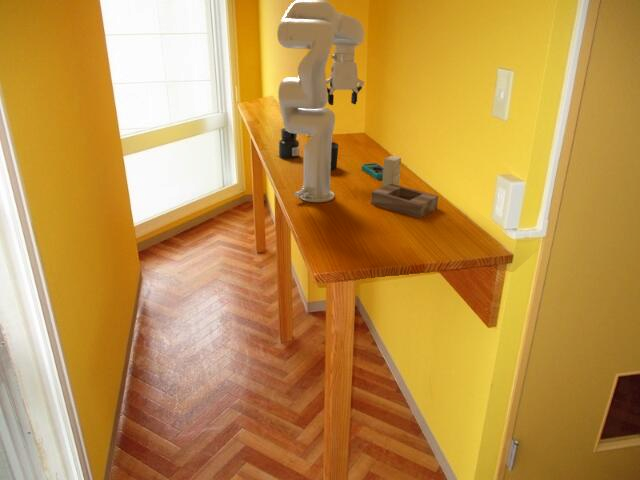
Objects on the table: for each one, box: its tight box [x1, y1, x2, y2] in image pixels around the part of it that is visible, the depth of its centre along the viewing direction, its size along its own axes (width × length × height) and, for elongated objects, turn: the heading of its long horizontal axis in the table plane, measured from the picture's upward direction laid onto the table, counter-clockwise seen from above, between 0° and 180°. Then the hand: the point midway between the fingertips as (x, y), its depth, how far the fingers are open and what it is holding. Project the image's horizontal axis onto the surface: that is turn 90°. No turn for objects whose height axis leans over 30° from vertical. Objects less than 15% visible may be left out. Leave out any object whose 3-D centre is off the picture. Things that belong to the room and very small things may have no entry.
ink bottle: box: [278, 127, 300, 159], centre depth 236 cm, size 10×9×12 cm
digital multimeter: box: [361, 162, 384, 181], centre depth 217 cm, size 7×15×3 cm, turn 22°
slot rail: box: [370, 184, 439, 219], centre depth 183 cm, size 12×19×4 cm, turn 50°
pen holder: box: [331, 141, 339, 171], centre depth 221 cm, size 9×9×10 cm
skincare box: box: [381, 155, 402, 188], centre depth 197 cm, size 6×4×12 cm
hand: (342, 104), depth 209 cm, fingers open, 9 cm apart
